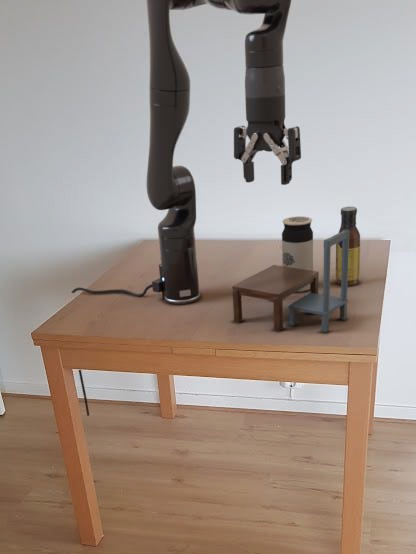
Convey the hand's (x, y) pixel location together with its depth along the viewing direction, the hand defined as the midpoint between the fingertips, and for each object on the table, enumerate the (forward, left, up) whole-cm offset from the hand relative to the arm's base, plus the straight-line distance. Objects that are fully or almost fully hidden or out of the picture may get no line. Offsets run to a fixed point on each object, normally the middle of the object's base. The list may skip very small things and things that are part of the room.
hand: (267, 182), depth 137 cm
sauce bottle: (-3, +42, -34) cm, 54 cm away
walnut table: (-7, +14, -34) cm, 38 cm away
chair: (+4, +14, -34) cm, 37 cm away
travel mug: (-13, +33, -34) cm, 49 cm away
